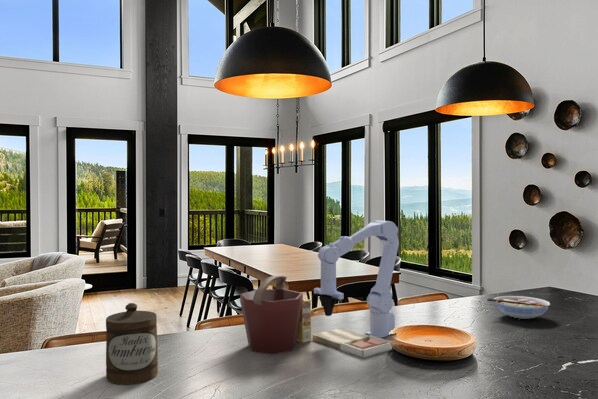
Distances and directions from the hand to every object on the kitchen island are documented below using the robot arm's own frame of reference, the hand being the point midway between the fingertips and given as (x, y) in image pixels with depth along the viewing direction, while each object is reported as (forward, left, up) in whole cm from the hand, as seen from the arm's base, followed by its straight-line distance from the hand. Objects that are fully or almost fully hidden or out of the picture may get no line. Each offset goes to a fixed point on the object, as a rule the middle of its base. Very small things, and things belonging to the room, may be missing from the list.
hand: (328, 315), depth 189 cm
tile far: (0, +17, -6) cm, 19 cm away
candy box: (+7, -8, -10) cm, 14 cm away
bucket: (+20, -7, -10) cm, 23 cm away
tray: (-4, +16, -9) cm, 19 cm away
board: (-4, +3, -9) cm, 10 cm away
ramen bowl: (-88, +27, -10) cm, 93 cm away
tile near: (-6, +19, -6) cm, 21 cm away
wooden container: (+70, -10, -10) cm, 71 cm away
